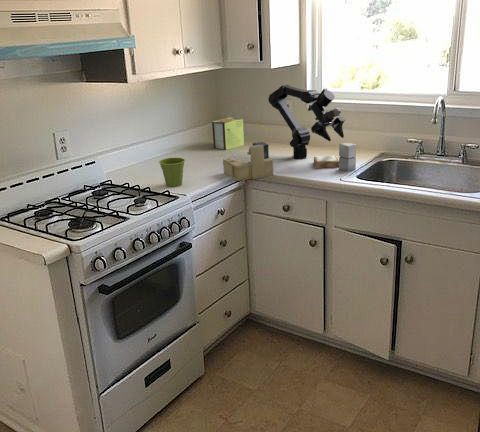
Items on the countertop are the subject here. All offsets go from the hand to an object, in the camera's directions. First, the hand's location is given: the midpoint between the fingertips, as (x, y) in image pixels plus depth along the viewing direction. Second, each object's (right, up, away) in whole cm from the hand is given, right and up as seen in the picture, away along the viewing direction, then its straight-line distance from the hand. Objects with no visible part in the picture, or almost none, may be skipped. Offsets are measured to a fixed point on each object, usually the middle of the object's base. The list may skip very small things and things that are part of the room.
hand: (336, 139), depth 258 cm
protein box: (-53, +3, +56) cm, 77 cm away
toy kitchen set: (-42, -17, -3) cm, 46 cm away
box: (-36, -11, +14) cm, 40 cm away
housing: (+4, -15, -2) cm, 15 cm away
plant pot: (-76, -23, -14) cm, 81 cm away
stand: (-4, -12, +7) cm, 14 cm away
